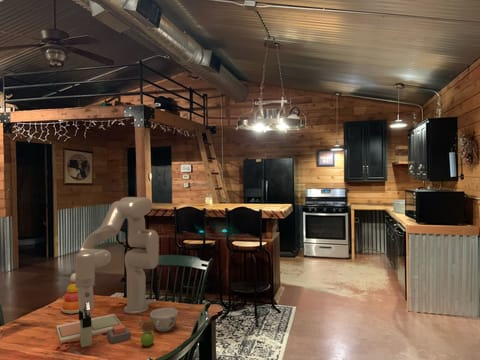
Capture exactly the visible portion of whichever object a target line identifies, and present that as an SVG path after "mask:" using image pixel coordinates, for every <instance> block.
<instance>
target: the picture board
mask: <svg viewBox="0 0 480 360" xmlns="http://www.w3.org/2000/svg"><path fill="white" fill-rule="evenodd" d="M91 320H92V337H93V336H97V335H101V334H105V333H107V330H110V329H113V326H115V325H120V324H122V323H121V321H120V320H119V318H118V317H117V316H116V314H115V313H111V314H107V315H100V316H96V317H91ZM56 331H57V335H58V340H59V342H60V344H62V343H67V342H71V341H74V340H80V320H77V321H72V322H67V323H63V324H58V325H56Z"/></svg>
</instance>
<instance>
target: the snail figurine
mask: <svg viewBox="0 0 480 360" xmlns="http://www.w3.org/2000/svg"><path fill="white" fill-rule="evenodd" d="M138 326H139V329H140V331H141V332H142V333H143V334H142V335H141V337H140V342H141V344H142V345H143V346H145V347H149V346H152V344H153V343H154V341H155V336H154V333H153V332H154V329H153V328H154V325H153V322H152V321H151V320H145V321H144V322H143V321H142V319H141V317H140V316H138Z"/></svg>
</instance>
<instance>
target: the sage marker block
mask: <svg viewBox="0 0 480 360" xmlns="http://www.w3.org/2000/svg"><path fill="white" fill-rule="evenodd" d="M79 321H80V339H79V343H80V346H81V348H85V347H90V346H92V345H93V336H92V320H91V327H87V328H83V320H79Z"/></svg>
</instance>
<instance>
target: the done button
mask: <svg viewBox="0 0 480 360" xmlns="http://www.w3.org/2000/svg"><path fill="white" fill-rule="evenodd" d="M125 326H126V325H124V324H123V323H121V324H120V325H115V326H113V333H114V335H116V334H120V333H125Z"/></svg>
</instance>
